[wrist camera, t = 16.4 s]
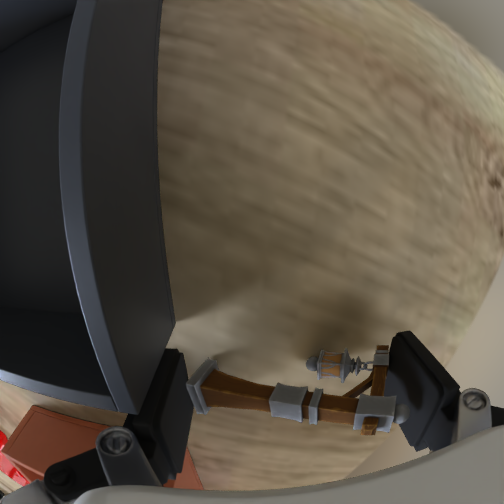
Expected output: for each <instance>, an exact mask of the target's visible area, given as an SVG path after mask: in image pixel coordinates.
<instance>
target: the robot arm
mask: <svg viewBox="0 0 504 504" xmlns="http://www.w3.org/2000/svg"><path fill="white" fill-rule="evenodd" d="M188 380H189V379H188V374H187V370H186V365H185V360H184V355H183V353H179V351H178V349H165V350H164V353H163V355H162V357H161V360H160V362H159V365H158V367H157V369H156V372H155V374H154V377H153V379H152V382H151V384H150V387H149V389H148V392H147V394H146V397H145V399H144V402H143V404H142V407H141V409H140V412H139V414H138V415H136V414H129V413H128V415H127V418H126V420H125V422H124V425H123V427H122V426H113V427H109V428H107V429H104V430H103V431H102V432H100V433H99V435H98V436H97V438H96V441H95V444H96V448H93V449H91V450H88V451H86V452H83V453H81V454H78V455H76V456H73V457H71V458H68V459H65V460H63V461H60V462H57V463H54V464H52V465H51V466H49V467H48V468H47V470H46V472H45V473H44V479H43V480H41V481H40V480H39V479H36V480H34V481H33V482H31V483H29V484H27V485H25V486H23V487H21V488H19V489H18V490H16V491H14V492H12V493H10V494H8V495H6V496H5V497H3V498H2V500H1V502H0V504H504V408H499V407H494V406H490V399H489V397H488V396H487V394H486V393H485V392H483V391H481V390H479V389H475V388H469V389H466V390H464V391H463V392H462V393H461V392H460V391H459V388H460V386H459V385H458V384H457V383H456V381H455V380H454V379H453V378H452V377H451V375H450V374H449V373H448V372H447V371H446V370H445V368H444V367H443V366H442V365H441V364H440V363H439V362H438V360H437V359H436V358H435V357H434V356H433V355H432V354H431V353H430V351H429V350H428V349H427V348H426V347H425V346H424V345H423V344H422V343H421V342H420V340H419V339H418V338H417V337H416V336H415V335H414V334H413V333H412V332H411V331H404V332H398V333H397V334H396V336H395V337H393V339H392V342H391V347H390V351H389V366H388V373H387V378H386V379H385V388H384V397H391V396H396V404H395V405H398V404H405V405H407V406H408V407H409V409H410V416H409V418H408V419H407V420H406V421H405V422H403V423H400V424H399V426H400V427H401V429H402V431H403V433H404V435H405V437H406V439H407V440H408V443H409V444H410V446H414V448H415V450H416V451H420V450H423V449H425V448H427V447H428V448H429V449H430V453H429V454H427V455H425V456H422V457H420V458H417V459H414V460H411V461H409V462H406V463H403V464H400V465H397V466H393V467H390V468H387V469H384V470H380V471H376V472H373V473H369V474H365V475H361V476H357V477H353V478H348V479H344V480H339V481H333V482H328V483H322V484H316V485H309V486H302V487H293V488H284V489H271V490H252V491H215V490H193V489H181V488H168V487H164V484H165V483H167V482H168V479H171V480H176V476H177V473H182V469H183V463H184V458H185V452H186V447H187V441H188V436H189V430H190V425H191V420H192V414H193V409H194V404H193V402H192V400H191V397H190V395H189V392H188V390H187V386H186V382H187V381H188Z"/></svg>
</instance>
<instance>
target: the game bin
mask: <svg viewBox="0 0 504 504" xmlns="http://www.w3.org/2000/svg"><path fill="white" fill-rule="evenodd" d="M162 3H163V0H0V380H2V381H5V382H7V383H10V384H13V385H15V386H18V387H21V388H24V389H27V390H30V391H33V392H36V393H39V394H43V395H46V396H49V397H53V398H56V399H60V400H64V401H68V402H72V403H76V404H80V405H85V406H90V407H94V408H99V409H105V410H110V411H116V412H118V411H119V412H123V413H129V414H136V415H138V414H139V412H140V409H141V407H142V404H143V402H144V399H145V397H146V394H147V392H148V389H149V387H150V384H151V382H152V379H153V377H154V374H155V372H156V369H157V367H158V365H159V362H160V360H161V357H162V355H163V353H164V350H165V348H166V345H167V343H168V341H169V338H170V336H171V334H172V331H173V329H174V327H175V324H176V321H175V315H174V309H173V303H172V296H171V289H170V282H169V275H168V268H167V260H166V251H165V243H164V233H163V223H162V212H161V200H160V185H159V168H158V144H157V74H158V51H159V35H160V23H161V12H162Z"/></svg>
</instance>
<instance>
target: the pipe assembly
mask: <svg viewBox="0 0 504 504" xmlns="http://www.w3.org/2000/svg"><path fill="white" fill-rule="evenodd" d="M388 348H389V345H377V350H376V354H374V361H369V362H366V363H365V362H361V360H360V358H359V356H358V358H357V360H356V362H355V361H354V358H353V359H352V360H351V358H350V356H349V353H348V349H347V348H345V351H344V353H333V352H326V351H324V350H323V349H321V352H320V355H319V358H317V357H310V358H309V359H308V360H307V362H306V367H307V368H308V369H309V370H311V371H317V377H318V380H319V379H320V378H324V377H339V378H341V383H344V381H345V378H346V377H347V375H348V374H349V373H350V372H351V373H353V371H354V369H355V373H356V376H357V374H358V373H359V372H360V370H364V369H365V370H367V371H372V372H371V374H370V376H369V377H368V378H367V379H366V380H364V381H363V382H362V383H360V384H359V385H357V386H356V387H355V388H353V389H352V390H350V391H349V392H347V393H346V394H345V395H343V396H335V395H328V394H323V389H318V388H315V391H314V392H309V391H308V386H307V387H295V386H287V385H283V384H280V383H277V385H276V387H274V386H267V385H261V384H257V383H253V382H250V381H247V380H243V379H240V378H237V377H233V376H230V375H227V374H225V373H223V372H221V371H219V369H218V366H217V362H216V360H211V359H210V358H209V357H208V358H207V359H206V361H205V362H204V363H203V364H202V365H201V366H200V367H199V369H198V370H197V371H196V372H195V373H194V374H193V375H192V376H191V378H190V379H189V380H188V381H187V382H186V386H187V390H188V392H189V395H190V397H191V400H192V402H193V404H194V407H195V409H196V412H197V414H200V413H201V414H205V415H206V414H207V413H208V411H209V410H210V408H211V407H228V408H239V409H252V410H260V411H266V412H271V415H272V417H282V418H287V419H292V420H296V421H298V422H301V423H302V421H303V419H309V424H316V425H317V423H318V420H319V421H326V422H334V423H343V424H352V425H354V426H353V430H357V429H361V434H360V435H375V433H376V430H377V431H385V432H388V433H389V431H390V428H391V424H392V421H393V422H394V423H397V424H400V423H403V422H405V421H406V420H407V419H408V418H409V416H410V409H409V407H408V406H407V405H405V404H398V405H395V404H396V396H391V397H383V396H384V388H385V379H386V378H387V373H388V366H389V354H388V353H389V350H388ZM369 363H373V369H367V364H369ZM362 364H364V366H363V367H364V368H361V365H362ZM371 386H372V387H371ZM369 387H371V393H370V396H368V395H364V394H361V393H363V392H364V391H365V390H367V389H368V388H369ZM359 395H360V398H359V399H357V398H356V397H357V396H359Z"/></svg>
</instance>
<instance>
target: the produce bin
mask: <svg viewBox="0 0 504 504" xmlns="http://www.w3.org/2000/svg"><path fill="white" fill-rule="evenodd" d="M109 427H111V426H106V425H102V424H97V423H93V422H88V421H84V420H80V419H76V418H73V417H69V416H65V415H62V414H58V413H55V412H52V411H49V410H46V409H43V408H40V407H37V406H34V405H32V407H31V408H30V410H29V411H28V412H27V414H26V415H25V416H24V418H23V419H22V421H21V422H20V424H19V425H18V426H17V428H16V429H15V431H14V432H13V434H12V435H11V437H10V438H9V440H8V441H7V443H6V444H5V446H4V447H3V449H2V450H1V452H2V453H3V454H4V456H5V457H6V458H7V459H8V460H9V461H10V462H11V463H12V465H13V466H14V467H15V468H16V469H17V470H18V471H19V472H20V473H21V474H22V475H23V476H24V477H25V478H26V479H27V480H28V481H29V482H30V483H31V482H33V481H34V480H36V479H39V480H40V481H41V480H43V479H44V473H45V472H46V470H47V468H48V467H49V466H51V465H52V464H54V463H57V462H60V461H63V460H65V459H68V458H71V457H73V456H76V455H78V454H81V453H83V452H86V451H88V450H91V449H93V448H96V444H95V441H96V438H97V436H98V435H99V433H100V432H102V431H103V430H104V429H107V428H109ZM164 487H168V488H181V489H193V490H204V489H203V486H202V484H201V482H200V479H199V477H198V474H197V472H196V469H195V467H194V464H193V462H192V459H191V456H190V454H189V451H188V448H187V447H186V452H185V458H184V463H183V469H182V473H177V476H176V480H171V479H168V482H167V483H165V484H164Z"/></svg>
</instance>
